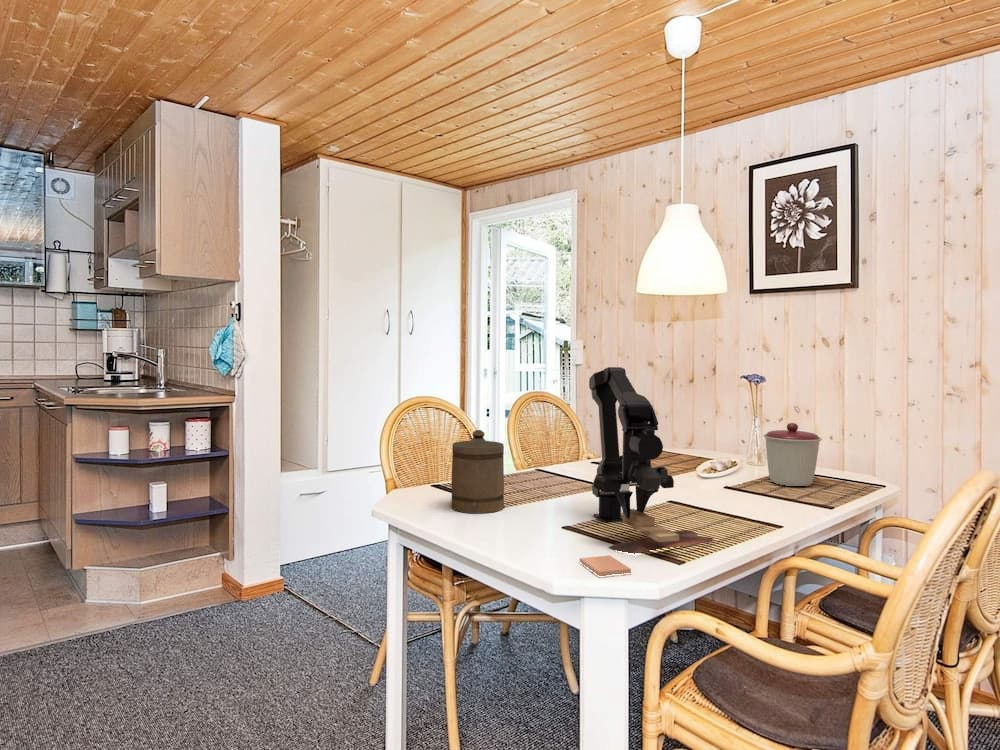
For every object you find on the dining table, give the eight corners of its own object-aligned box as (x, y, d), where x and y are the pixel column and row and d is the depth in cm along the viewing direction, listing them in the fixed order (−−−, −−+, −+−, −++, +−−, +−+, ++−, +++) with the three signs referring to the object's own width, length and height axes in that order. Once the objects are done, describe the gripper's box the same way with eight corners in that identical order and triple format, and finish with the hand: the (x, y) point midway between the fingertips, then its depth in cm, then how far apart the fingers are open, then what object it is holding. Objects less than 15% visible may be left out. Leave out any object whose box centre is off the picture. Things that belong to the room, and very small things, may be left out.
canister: (754, 478, 230) (756, 419, 229) (806, 479, 229) (807, 420, 228) (774, 489, 212) (775, 425, 211) (830, 490, 211) (832, 426, 210)
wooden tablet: (632, 554, 139) (603, 537, 148) (631, 564, 140) (602, 546, 148) (718, 538, 152) (686, 523, 161) (717, 547, 153) (685, 532, 161)
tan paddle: (619, 522, 155) (619, 510, 155) (637, 520, 157) (637, 508, 157) (659, 542, 139) (659, 528, 139) (679, 540, 141) (679, 526, 141)
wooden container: (483, 499, 194) (484, 426, 193) (514, 509, 182) (515, 431, 181) (441, 505, 185) (442, 429, 184) (470, 516, 173) (471, 435, 172)
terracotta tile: (579, 558, 136) (599, 572, 127) (609, 555, 138) (630, 568, 129) (579, 565, 136) (599, 580, 127) (609, 562, 138) (630, 576, 129)
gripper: (617, 460, 142) (616, 530, 143) (688, 456, 149) (687, 523, 149) (593, 452, 153) (592, 517, 153) (661, 449, 159) (659, 511, 160)
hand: (633, 517), depth 154 cm, fingers closed on tan paddle, 3 cm apart
